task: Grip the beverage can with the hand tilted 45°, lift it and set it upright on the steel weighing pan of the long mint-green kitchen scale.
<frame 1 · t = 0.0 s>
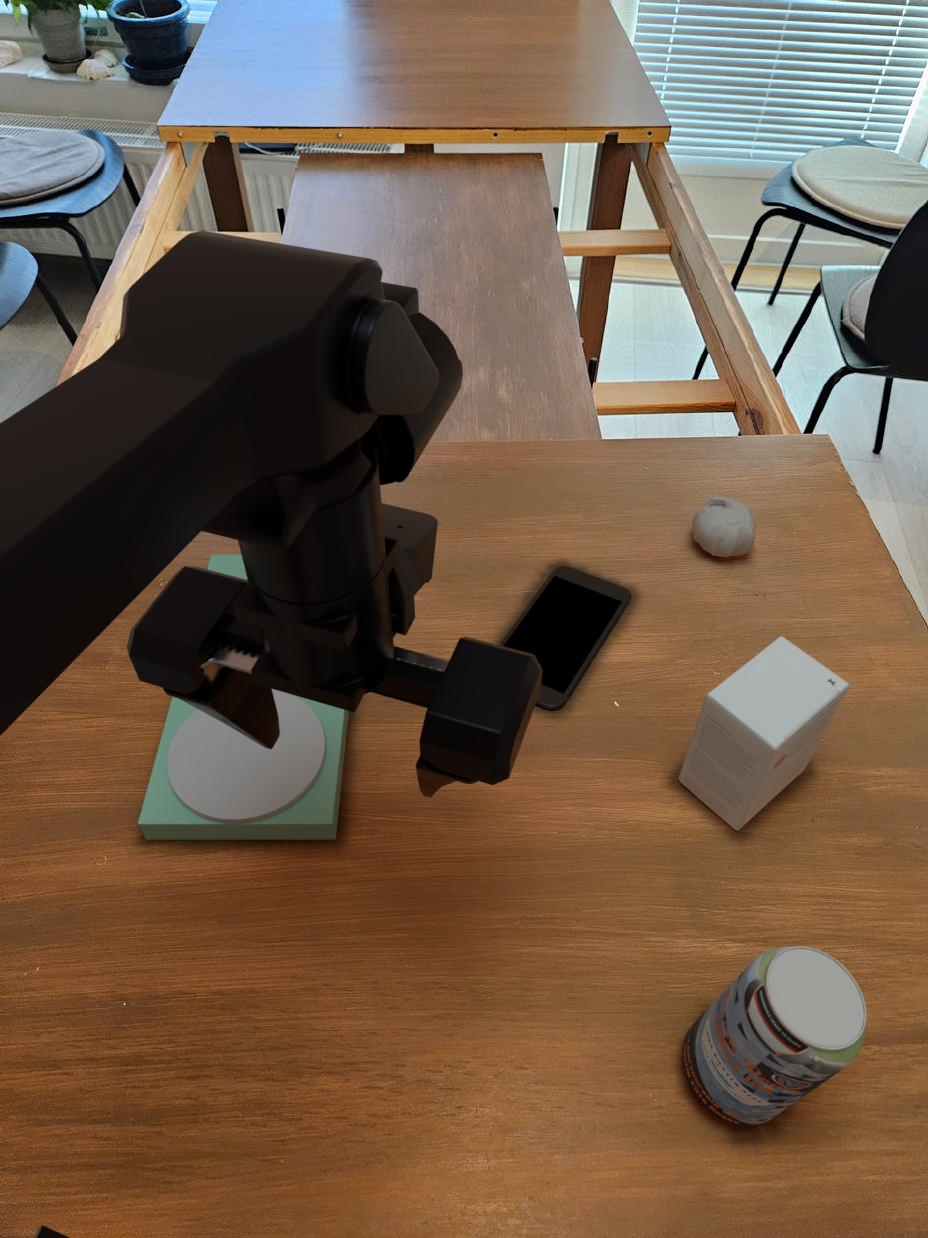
hand: (350, 765, 48), 15 cm above the table, tool pointing down, fingers open, 9 cm apart
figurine: (220, 485, 87), on the table
small box: (739, 778, 65), on the table
smartphone: (558, 638, 74), on the table
scale: (268, 689, 70), on the table
garlic: (717, 547, 81), on the table
beverage can: (740, 1072, 51), on the table
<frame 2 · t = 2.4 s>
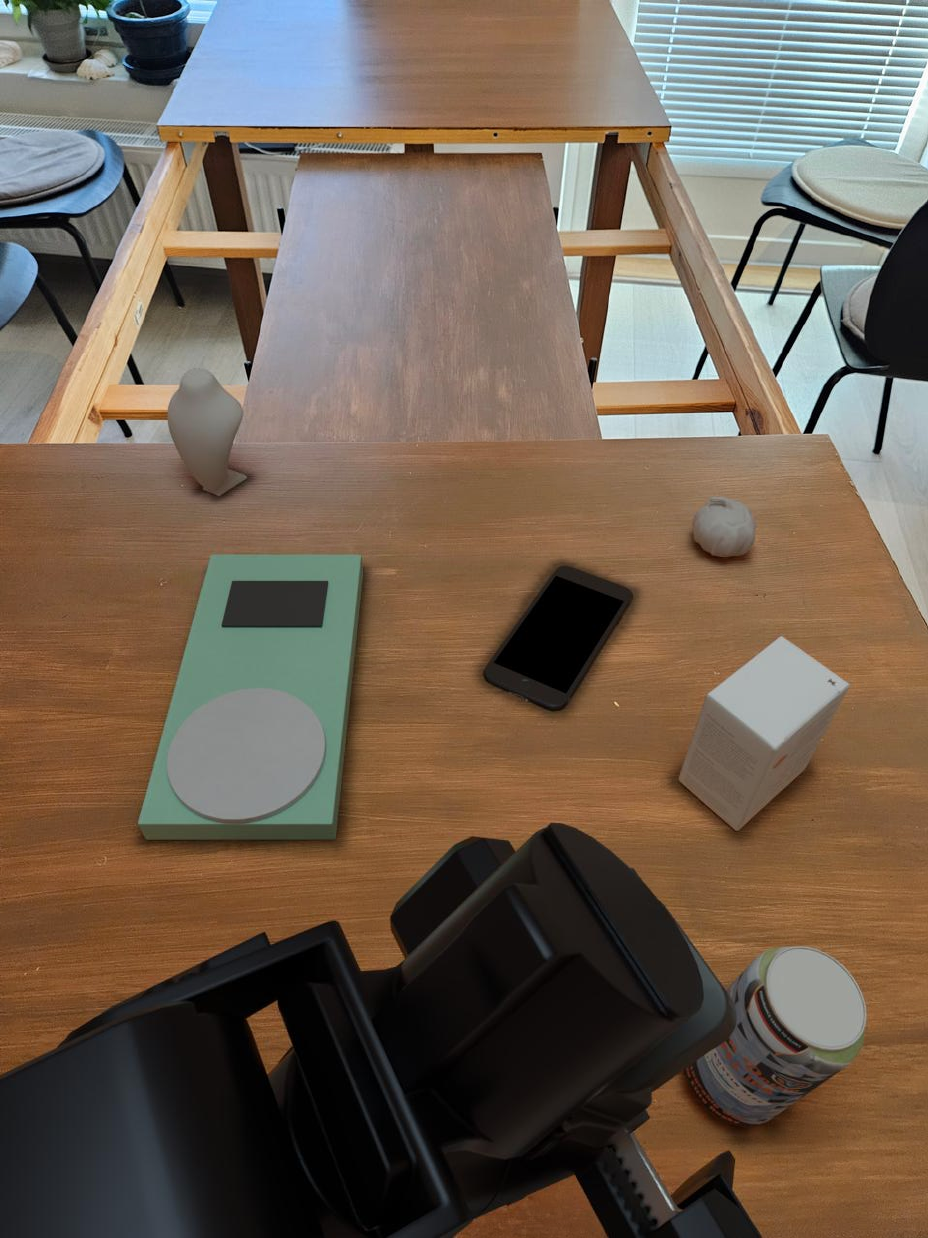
hand: (656, 1055, 39), 13 cm above the table, tool tilted 45°, fingers open, 9 cm apart
nothing on the table moved.
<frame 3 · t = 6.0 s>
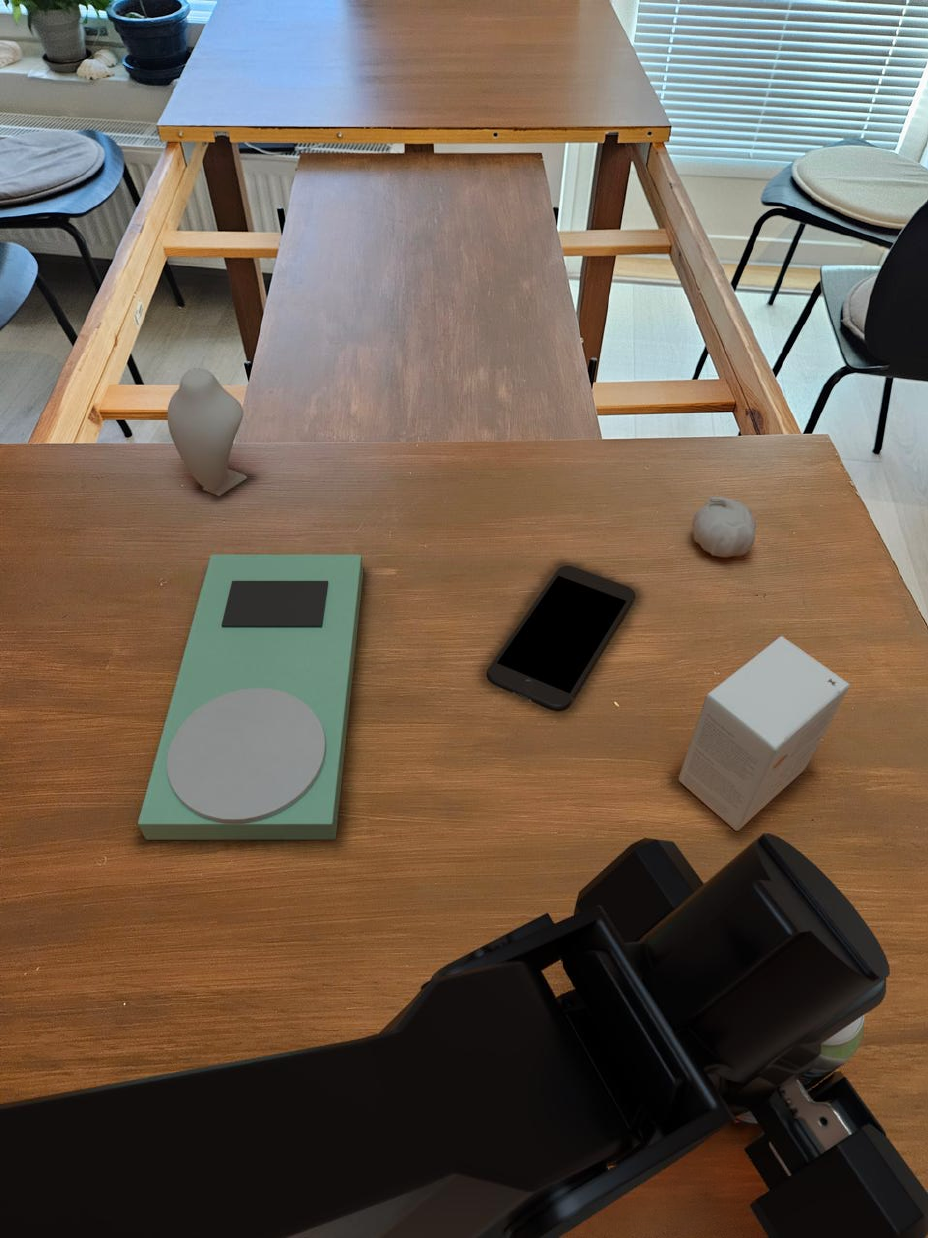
hand: (794, 1023, 47), 7 cm above the table, tool tilted 45°, fingers closed on beverage can, 6 cm apart
beverage can: (740, 1072, 51), on the table, touching gripper
everything else where it was.
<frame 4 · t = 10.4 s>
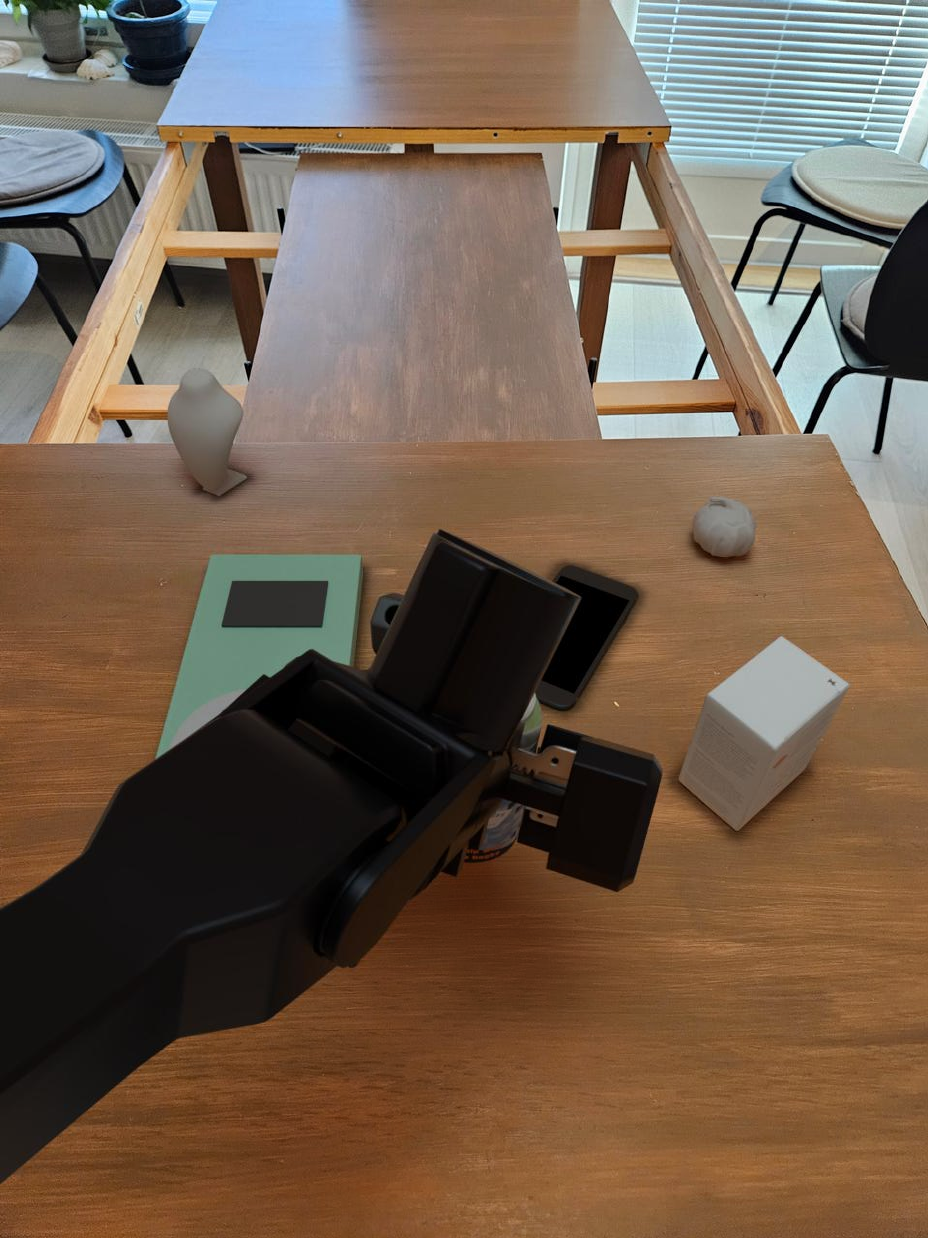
hand: (490, 741, 51), 13 cm above the table, tool tilted 45°, fingers closed on beverage can, 6 cm apart
beverage can: (476, 823, 55), point 6 cm above the table, touching gripper
everything else where it was.
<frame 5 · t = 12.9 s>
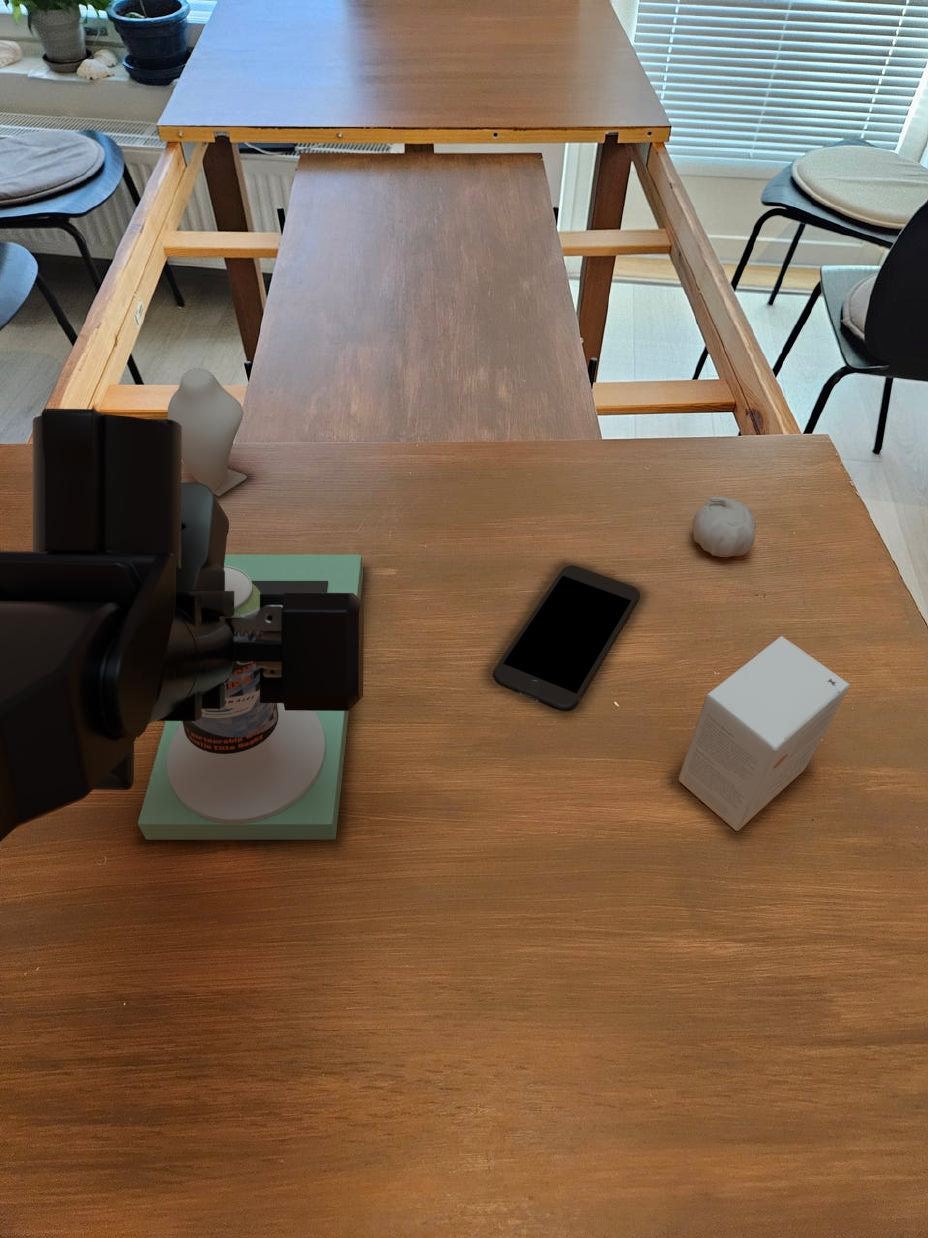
hand: (227, 640, 56), 13 cm above the table, tool tilted 45°, fingers closed on beverage can, 6 cm apart
beverage can: (240, 723, 60), point 6 cm above the table, touching gripper
everything else where it was.
when the fingers open (9 cm above the table, at t = 14.8 s): beverage can stays where it is, resting on scale.
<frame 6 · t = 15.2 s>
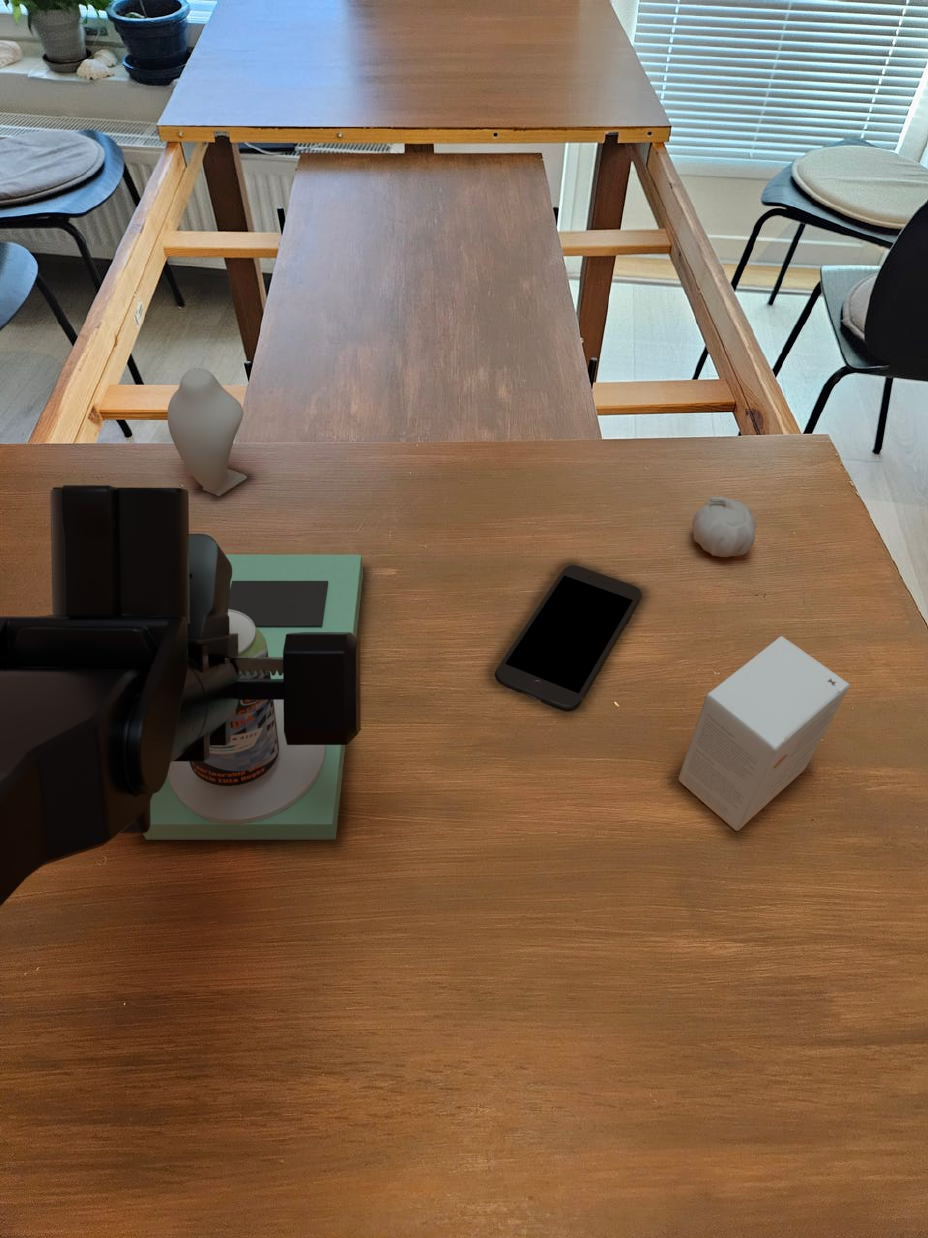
hand: (230, 671, 58), 10 cm above the table, tool tilted 45°, fingers open, 9 cm apart
beverage can: (242, 754, 63), point 3 cm above the table, touching scale
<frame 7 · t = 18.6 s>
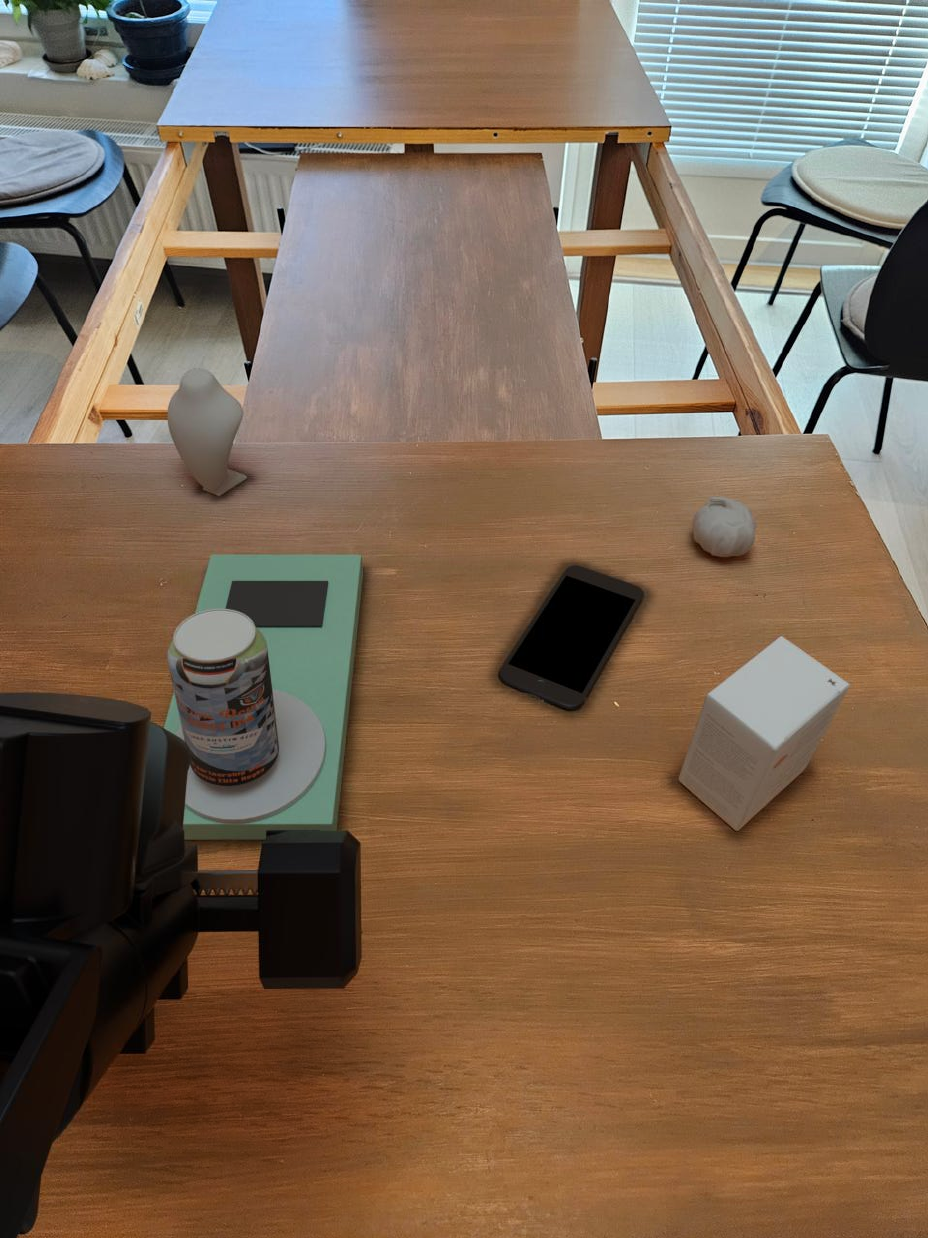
hand: (195, 850, 46), 13 cm above the table, tool tilted 45°, fingers open, 9 cm apart
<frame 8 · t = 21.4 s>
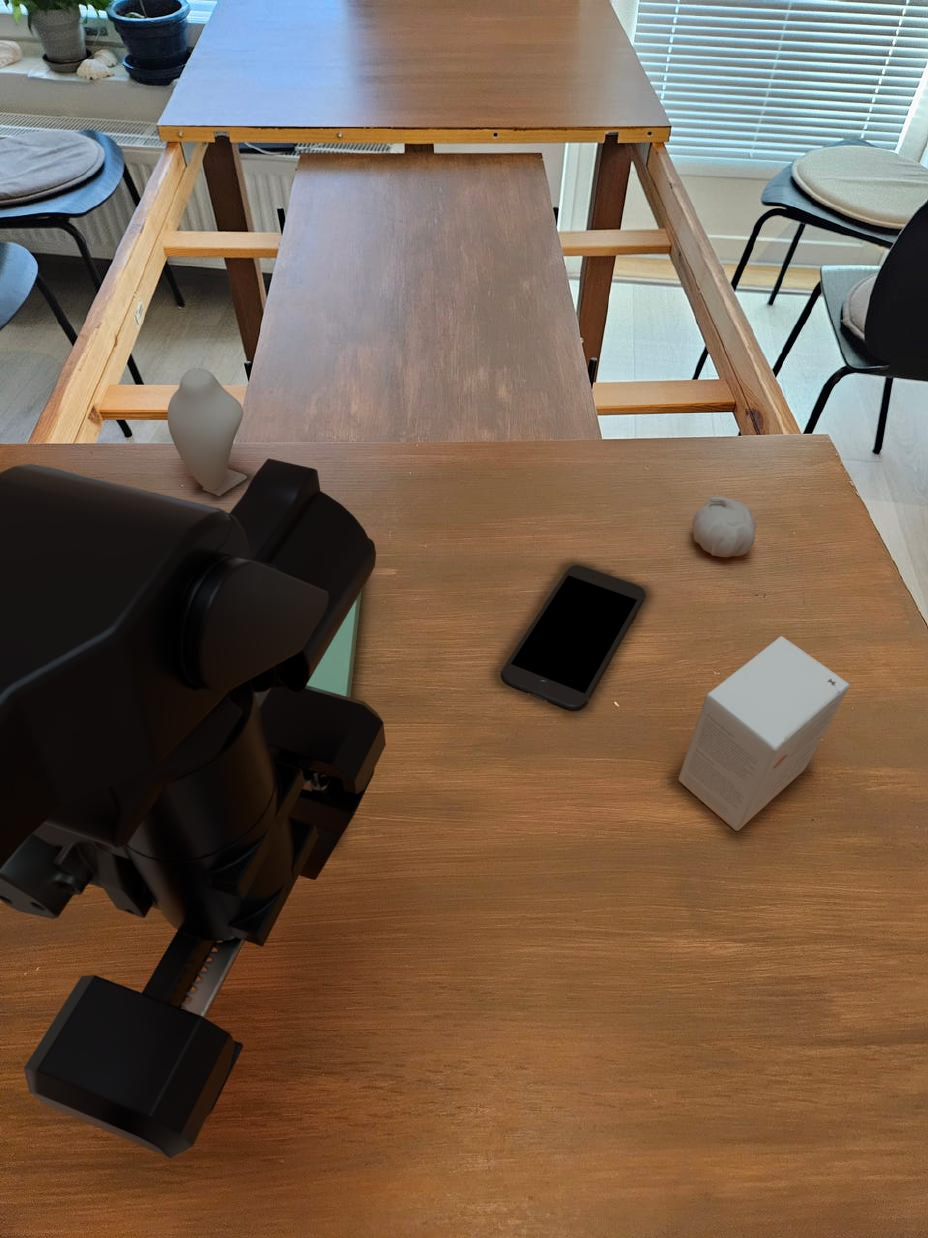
hand: (265, 960, 42), 13 cm above the table, tool pointing down, fingers open, 9 cm apart
at the end: beverage can inside the target area on the scale (0.4 cm from its centre), point 2.6 cm above the scale's base; beverage can tilted 0°; the gripper is holding nothing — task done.
